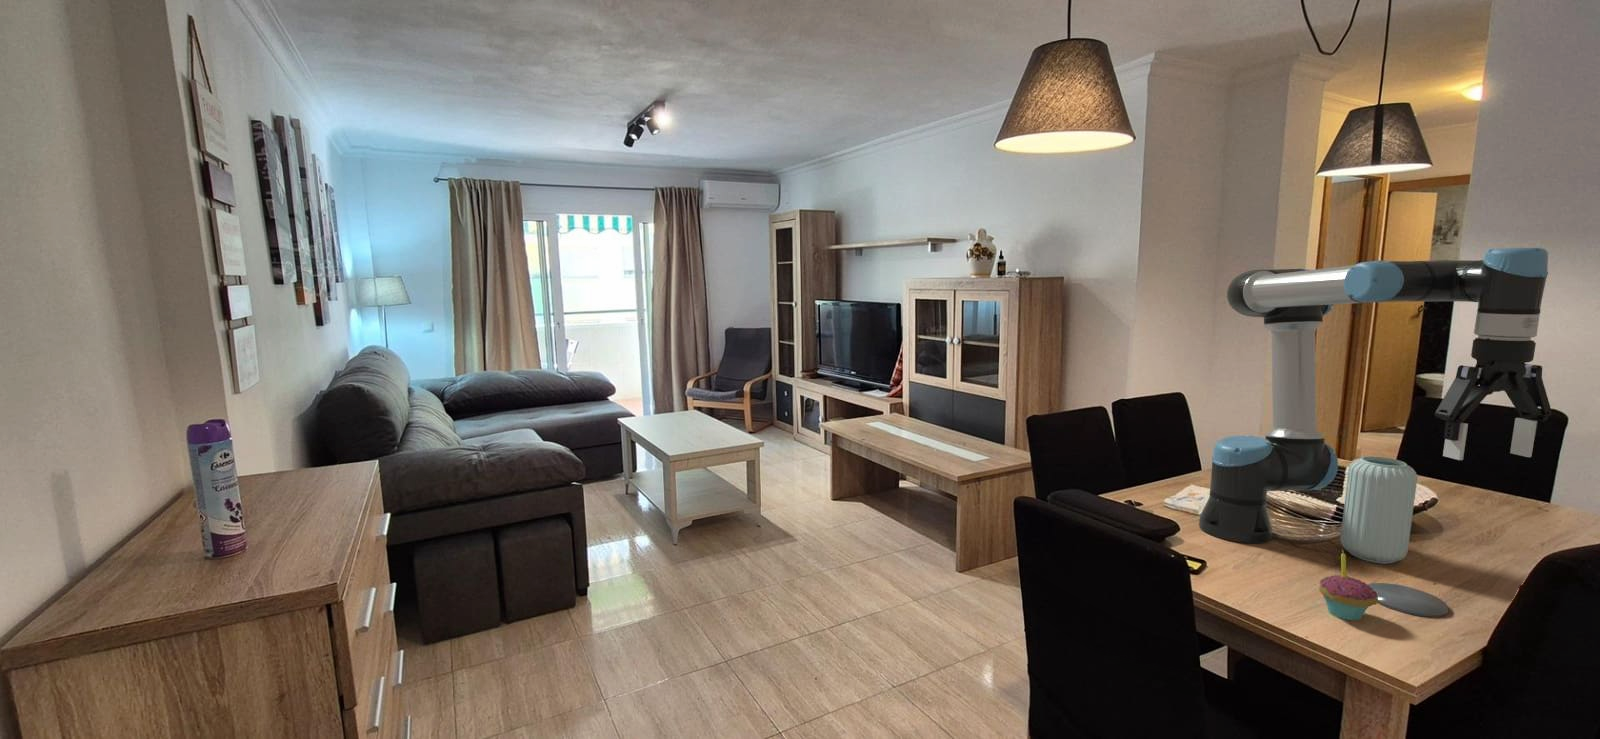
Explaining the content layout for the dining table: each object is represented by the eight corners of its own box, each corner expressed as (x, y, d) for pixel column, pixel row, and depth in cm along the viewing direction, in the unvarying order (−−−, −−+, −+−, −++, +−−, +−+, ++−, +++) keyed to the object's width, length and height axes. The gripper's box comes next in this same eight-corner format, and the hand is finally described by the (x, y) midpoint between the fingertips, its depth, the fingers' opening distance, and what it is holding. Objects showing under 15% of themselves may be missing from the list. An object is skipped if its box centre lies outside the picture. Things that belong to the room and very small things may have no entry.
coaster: (1372, 606, 128) (1372, 602, 128) (1359, 581, 138) (1359, 578, 138) (1457, 623, 122) (1457, 619, 122) (1436, 595, 132) (1437, 591, 132)
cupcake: (1305, 604, 129) (1311, 545, 127) (1345, 602, 130) (1352, 543, 128) (1344, 627, 121) (1352, 565, 119) (1387, 625, 121) (1395, 563, 119)
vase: (1406, 555, 150) (1419, 460, 147) (1405, 572, 142) (1418, 472, 139) (1341, 541, 158) (1352, 451, 155) (1336, 557, 150) (1347, 461, 146)
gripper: (1463, 341, 110) (1446, 465, 113) (1594, 338, 113) (1574, 459, 116) (1417, 337, 118) (1402, 453, 121) (1541, 334, 120) (1523, 448, 123)
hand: (1486, 456), depth 118 cm, fingers open, 13 cm apart
